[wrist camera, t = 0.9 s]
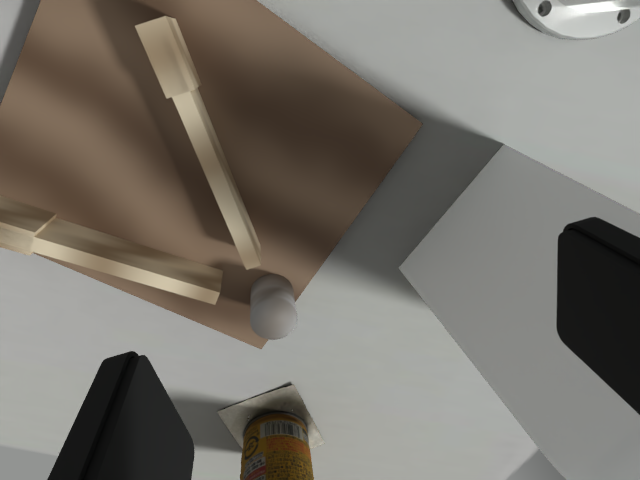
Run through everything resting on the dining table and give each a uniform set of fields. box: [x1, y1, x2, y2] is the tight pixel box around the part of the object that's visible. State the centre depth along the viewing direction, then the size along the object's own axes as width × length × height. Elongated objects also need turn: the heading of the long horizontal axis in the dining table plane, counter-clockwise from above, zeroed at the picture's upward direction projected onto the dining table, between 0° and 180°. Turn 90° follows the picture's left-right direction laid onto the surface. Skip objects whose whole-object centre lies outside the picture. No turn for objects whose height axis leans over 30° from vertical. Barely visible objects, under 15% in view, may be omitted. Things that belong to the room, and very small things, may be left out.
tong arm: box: [135, 16, 261, 270], centre depth 25 cm, size 15×2×3 cm, turn 16°
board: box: [0, 0, 423, 349], centre depth 28 cm, size 21×22×1 cm
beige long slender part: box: [0, 196, 298, 340], centre depth 28 cm, size 20×3×4 cm, turn 65°
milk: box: [399, 144, 640, 480], centre depth 23 cm, size 12×12×26 cm
